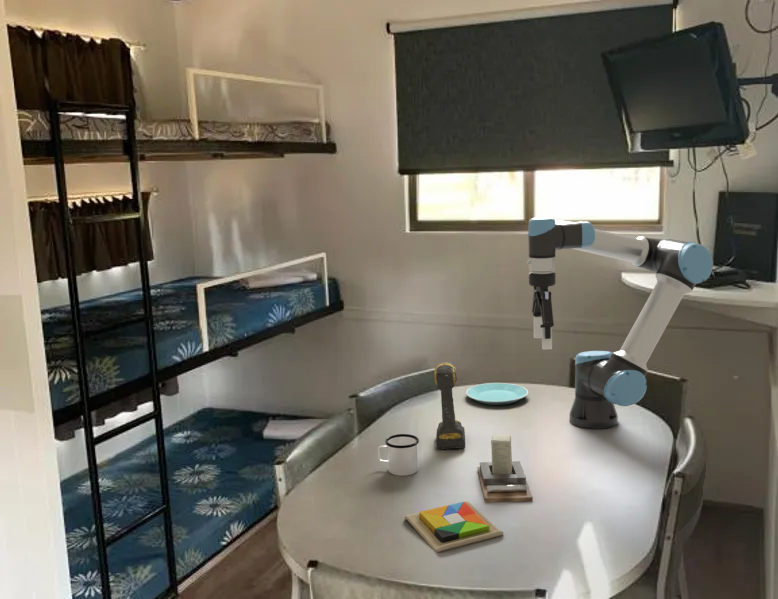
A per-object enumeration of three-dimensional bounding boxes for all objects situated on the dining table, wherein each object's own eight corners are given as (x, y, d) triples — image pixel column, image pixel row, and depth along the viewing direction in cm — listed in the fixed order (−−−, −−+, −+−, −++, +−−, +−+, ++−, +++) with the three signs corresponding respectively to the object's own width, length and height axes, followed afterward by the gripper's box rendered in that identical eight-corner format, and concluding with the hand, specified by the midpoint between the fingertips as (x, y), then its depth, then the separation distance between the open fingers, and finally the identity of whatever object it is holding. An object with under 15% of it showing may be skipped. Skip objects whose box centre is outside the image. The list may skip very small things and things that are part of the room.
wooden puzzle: (438, 556, 171) (438, 541, 170) (402, 521, 188) (402, 508, 187) (505, 538, 178) (505, 524, 177) (465, 506, 195) (464, 493, 194)
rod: (525, 489, 199) (525, 483, 199) (527, 492, 197) (527, 486, 197) (487, 490, 199) (487, 484, 199) (487, 493, 198) (487, 487, 197)
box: (512, 474, 209) (512, 435, 207) (511, 480, 205) (510, 441, 203) (493, 472, 210) (492, 434, 208) (491, 479, 206) (490, 440, 204)
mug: (423, 465, 220) (423, 435, 218) (414, 478, 211) (413, 447, 209) (384, 461, 224) (383, 431, 222) (373, 474, 215) (371, 443, 213)
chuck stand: (520, 469, 215) (520, 459, 214) (532, 500, 195) (532, 489, 194) (477, 470, 215) (477, 460, 214) (485, 502, 195) (484, 491, 195)
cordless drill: (465, 428, 248) (463, 353, 243) (465, 452, 228) (463, 370, 224) (437, 428, 249) (435, 353, 244) (434, 452, 229) (432, 371, 225)
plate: (463, 408, 269) (463, 400, 268) (468, 389, 290) (468, 381, 290) (528, 409, 265) (528, 401, 264) (528, 390, 286) (528, 382, 286)
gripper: (522, 265, 234) (522, 334, 237) (536, 279, 209) (537, 354, 213) (546, 264, 233) (547, 333, 237) (564, 277, 209) (564, 353, 213)
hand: (542, 343), depth 225 cm, fingers open, 13 cm apart
